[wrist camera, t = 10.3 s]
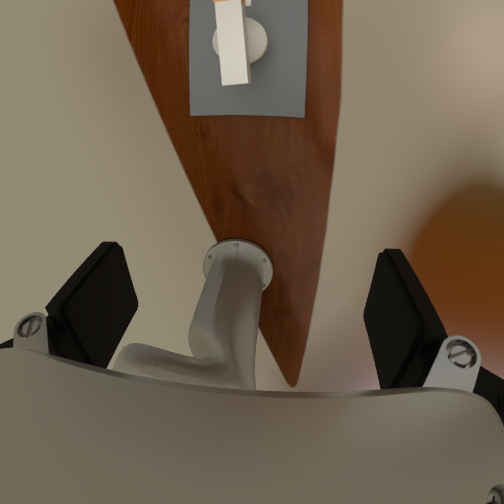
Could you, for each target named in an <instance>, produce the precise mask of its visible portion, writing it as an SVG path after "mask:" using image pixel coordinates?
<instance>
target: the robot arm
mask: <svg viewBox="0 0 504 504" xmlns="http://www.w3.org/2000/svg"><path fill="white" fill-rule="evenodd" d="M237 243H238V244H237ZM203 271H204V274H205V277H206V282H205V285H204V288H203V290H202V293H201V297H200V299H199V302H198V305H197V308H196V311H195V314H194V317H193V320H192V323H191V326H190V329H189V345H190V348H191V352H192V354H193V356H194V357H190V356H189V357H188V356H184V355H181V354H177V353H173V352H170V351H166V350H163V349H160V348H156V347H153V346H149V345H145V344H140V343H132V344H129V345H127V346H125V347H124V348H123V349H122V350H121V351H120V353H119V354H118V356H117V358H116V360H115V363H114V366H113V369H112V370H109V369H106V368H107V366H108V364H109V362H110V360H111V358H112V356H113V354H114V352H115V350H116V348H117V346H118V344H119V342H120V340H121V339H122V337H123V335H124V333H125V331H126V329H127V327H128V325H129V324H130V322H131V320H132V318H133V316H134V314H135V312H136V311H137V308H138V300H137V296H136V293H135V290H134V286H133V283H132V280H131V277H130V273H129V270H128V266H127V262H126V259H125V255H124V252H123V248H122V247H121V246H119V244H118V243H117V242H102V243H101V244H100V245H99V246H98V247H97V248H96V249H95V250H94V251H93V252H92V253H91V255H90V256H89V257H88V258H87V259H86V260H85V261H84V262H83V263H82V264H81V266H80V267H79V268H78V269H77V270H76V271H75V272H74V273H73V275H72V276H71V277H70V278H69V279H68V280H67V282H66V283H65V284H64V285H63V286H62V288H61V289H60V290H59V291H58V292H57V293H56V295H55V296H54V297H53V298H52V300H51V301H50V302H49V303H48V305H47V306H46V307H45V308H46V310H47V312H48V314H49V315H48V316H47V318H46V317H45V315H44V314H43V313H40V312H34V313H30V314H28V315H26V316H25V317H23V318H22V319H21V320H20V321H19V322H18V323H17V325H16V327H15V329H14V338H12V339H10V340H8V341H6V342H4V343H2V344H0V504H504V380H503V379H501V378H500V377H498V376H496V375H495V374H493V373H491V372H490V371H488V370H486V369H485V368H483V367H481V366H480V364H481V355H480V351H479V350H478V348H477V346H476V345H475V344H474V343H473V342H472V341H470V340H469V339H467V338H465V337H462V336H450V337H448V336H447V334H446V332H445V329H444V326H443V324H442V322H441V320H440V318H439V316H438V314H437V312H436V310H435V308H434V307H433V305H432V303H431V301H430V299H429V297H428V295H427V293H426V292H425V290H424V288H423V286H422V284H421V283H420V281H419V279H418V277H417V276H416V274H415V272H414V271H413V269H412V267H411V265H410V264H409V262H408V261H407V259H406V257H405V256H404V254H403V253H402V251H401V250H400V249H385V250H384V251H383V253H379V255H378V258H377V263H376V267H375V271H374V275H373V279H372V283H371V287H370V291H369V294H368V298H367V302H366V306H365V309H364V322H365V326H366V330H367V333H368V337H369V341H370V345H371V349H372V353H373V357H374V362H375V366H376V370H377V374H378V379H379V384H380V388H381V389H380V390H364V391H341V392H340V391H339V392H338V391H337V392H280V391H258V390H256V384H255V352H256V342H257V341H256V340H257V333H258V324H259V315H260V306H261V297H262V291H263V290H265V289H266V288H267V286H268V285H269V284H270V282H271V279H272V275H273V266H272V262H271V259H270V257H269V256H268V254H267V253H266V252H265V251H264V250H263V249H262V248H261V247H260V246H258V245H257V244H255V243H253V242H251V241H248V240H244V239H227V240H223V241H220V242H218V243H216V244H215V245H213V246H212V247H211V248H210V249H209V251H208V252H207V254H206V256H205V259H204V263H203Z"/></svg>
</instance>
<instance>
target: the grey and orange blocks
mask: <svg viewBox="0 0 504 504" xmlns="http://www.w3.org/2000/svg"><path fill="white" fill-rule="evenodd" d="M213 2H214V3H215V13H216V24H217V29H216V30H215V32H214V35H213V47H214V50H215V52H216V53H217V55H218V56H219V58H220V68H221V79H222V86H225V85H237V84H249V83H251V74H250V64H252V63H254V62H256V61H258V60H259V59H261V58H262V57H263V55H264V54H265V52H266V50H267V47H268V38H267V35H266V32H265V30H264V28H263V27H262V26H261V24H260V23H258V22H257V21H255V20H253V19H251V18H248V17H246V16H245V7H246V4H245V0H213Z"/></svg>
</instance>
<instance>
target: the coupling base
mask: <svg viewBox="0 0 504 504" xmlns="http://www.w3.org/2000/svg"><path fill="white" fill-rule="evenodd" d="M245 4H246V7H245V16H246V17H248V18H251V19H253V20H255V21H257V22H258V23H260V24H261V26H262V27H263V28H264V30H265V32H266V35H267V38H268V47H267V50H266V52H265V54H264V55H263V57H262V58H261V59H259V60H258V61H256V62H254V63H252V64H250V74H251V83H249V84H237V85H225V86H222V79H221V68H220V58H219V56H218V55H217V53H216V52H215V50H214V47H213V35H214V32H215V30H216V29H217V24H216V13H215V3H214V2H213V0H190V29H189V78H190V116H202V115H263V116H284V117H299V118H304V116H305V96H306V72H307V37H308V0H245Z"/></svg>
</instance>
